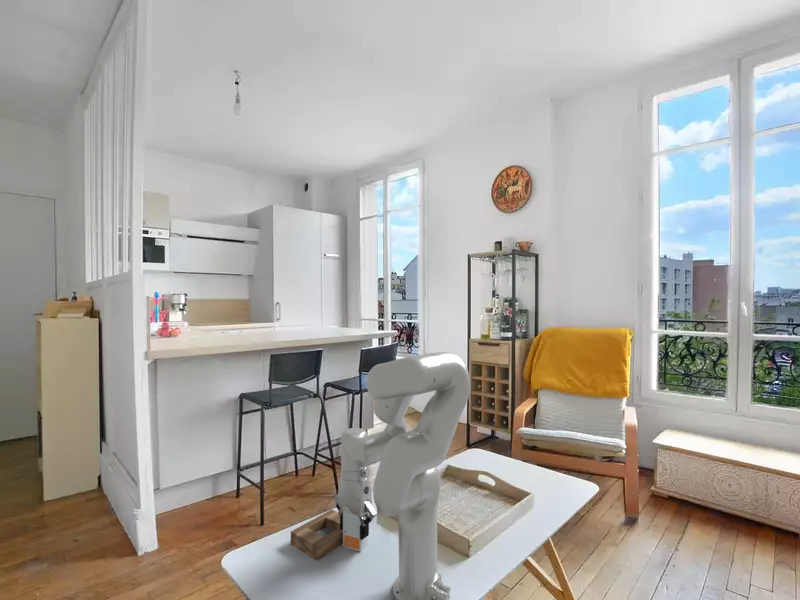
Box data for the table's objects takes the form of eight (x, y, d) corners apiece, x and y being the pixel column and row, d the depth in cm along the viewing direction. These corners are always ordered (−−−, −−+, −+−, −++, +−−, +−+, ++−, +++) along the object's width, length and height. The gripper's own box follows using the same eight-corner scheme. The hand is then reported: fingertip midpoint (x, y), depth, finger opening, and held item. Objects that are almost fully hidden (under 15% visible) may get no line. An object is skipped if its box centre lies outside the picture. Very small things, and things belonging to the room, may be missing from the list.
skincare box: (342, 547, 121) (342, 506, 121) (349, 539, 125) (349, 499, 125) (361, 552, 119) (360, 510, 119) (367, 544, 123) (367, 503, 123)
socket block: (358, 534, 128) (358, 521, 128) (318, 560, 115) (317, 546, 115) (331, 521, 135) (331, 509, 135) (290, 545, 123) (290, 531, 123)
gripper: (385, 476, 119) (385, 537, 120) (342, 460, 130) (342, 516, 130) (367, 485, 113) (367, 550, 114) (324, 468, 124) (324, 527, 124)
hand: (354, 531), depth 122 cm, fingers open, 7 cm apart
